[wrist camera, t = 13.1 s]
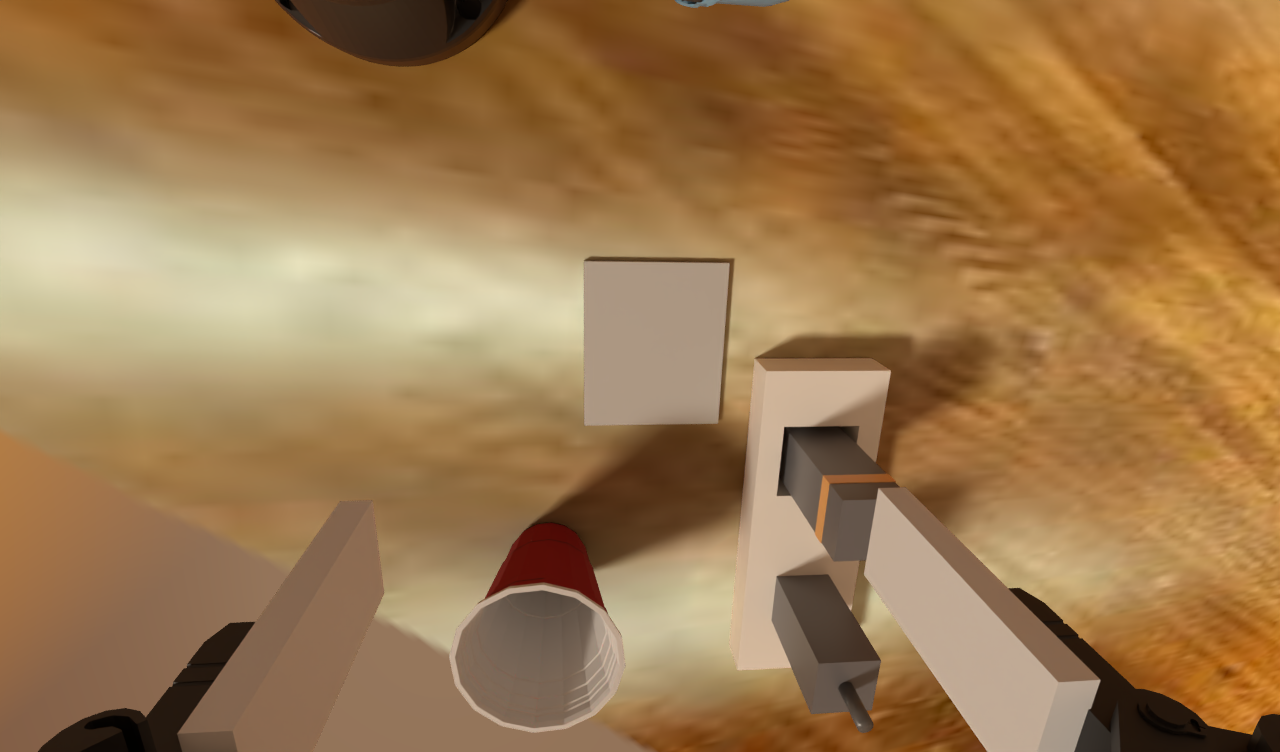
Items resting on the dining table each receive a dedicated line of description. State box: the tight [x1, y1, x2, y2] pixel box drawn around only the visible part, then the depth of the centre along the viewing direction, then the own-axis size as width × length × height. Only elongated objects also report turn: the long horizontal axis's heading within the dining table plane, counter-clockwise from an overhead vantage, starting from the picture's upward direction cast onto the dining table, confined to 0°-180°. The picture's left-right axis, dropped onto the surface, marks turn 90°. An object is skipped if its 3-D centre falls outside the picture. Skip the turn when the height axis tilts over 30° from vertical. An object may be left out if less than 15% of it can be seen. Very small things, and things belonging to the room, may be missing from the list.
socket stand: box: [729, 358, 891, 733], centre depth 43 cm, size 26×9×15 cm, turn 178°
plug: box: [779, 426, 900, 562], centre depth 43 cm, size 4×4×12 cm
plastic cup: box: [449, 523, 625, 733], centre depth 44 cm, size 11×11×12 cm
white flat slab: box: [584, 260, 730, 425], centre depth 44 cm, size 12×10×1 cm
